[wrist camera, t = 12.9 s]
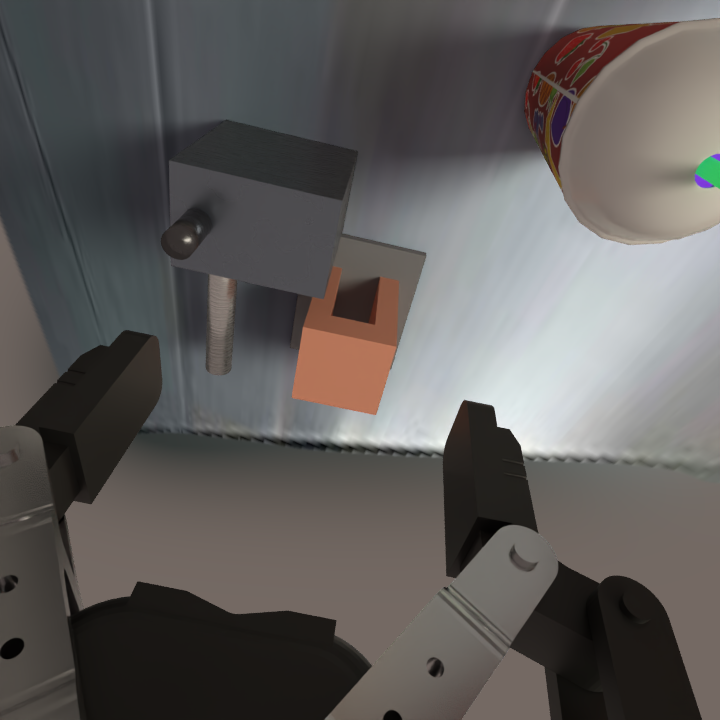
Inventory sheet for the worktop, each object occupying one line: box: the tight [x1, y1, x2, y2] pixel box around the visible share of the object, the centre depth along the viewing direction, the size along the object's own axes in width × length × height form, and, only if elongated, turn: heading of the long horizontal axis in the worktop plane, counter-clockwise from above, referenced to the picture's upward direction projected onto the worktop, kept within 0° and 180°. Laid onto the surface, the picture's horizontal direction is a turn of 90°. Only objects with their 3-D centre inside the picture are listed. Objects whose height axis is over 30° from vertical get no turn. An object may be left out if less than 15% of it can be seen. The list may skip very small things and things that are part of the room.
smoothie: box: [524, 18, 720, 245], centre depth 23 cm, size 8×8×20 cm
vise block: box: [161, 120, 358, 375], centre depth 34 cm, size 18×9×13 cm, turn 168°
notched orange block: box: [292, 266, 399, 415], centre depth 37 cm, size 6×6×9 cm
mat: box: [290, 234, 426, 369], centre depth 41 cm, size 9×11×1 cm
